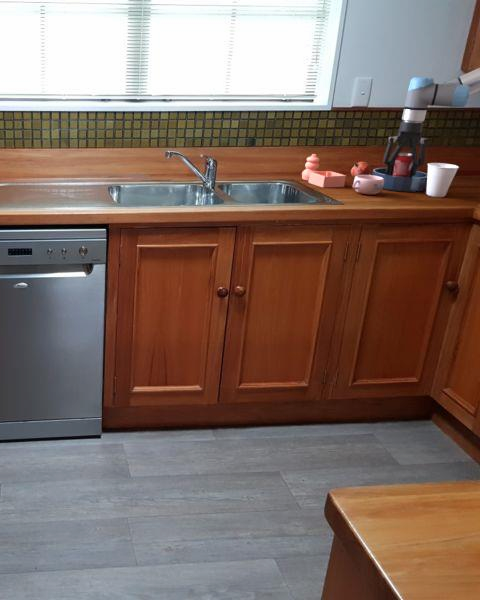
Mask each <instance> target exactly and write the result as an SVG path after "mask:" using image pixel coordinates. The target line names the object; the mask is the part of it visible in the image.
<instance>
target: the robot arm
mask: <svg viewBox="0 0 480 600" xmlns="http://www.w3.org/2000/svg"><path fill="white" fill-rule="evenodd" d="M479 91H480V67H478V68H476V69H474V70H471V71H469V72H467V73H465V74H463V75H460V76H458V77H456V78H454V79H452V80H450V81H445V82H443V83H435V79H434V77H425V76H414V77H412V78H411V79H410V83H409V85H408V89H407V93H406V98H405V103H404V107H403V112H402V116H401V120H402V121H401V122H400V124H399V129H398V133H397V135H396V136H388V138H387V145H386V149H385V152H384V156H383V158H382V163H383V164H385V165H386V167H385V168H386V174H388V175H391V176H392V172H393V168H394V166H392V164H393V162H394V161H395V159H396V158H397V156H398V154H399V153H401V151H402V150H403V149H404V148H409V150H410V154H412V155H413V156H412V157H413V159H414V160H413V165H412V169H411V173H410V177H411V178H412V176H413V175H414V176H415V174H416V171H418V168H419V167H422V166H424V164H425V159H426V149H427V145H428V143H429V141H430V140H429V138H425V137H422V133H423V132H422V131H423V127H424V121H425V119H426V115H427V111H428V107H429V106H431V107H432V106H435V107H448V108H449V107H450V108H464V107H466V105H467V103H468V101H469V98H470V95H471V94H474V93H476V92H479ZM396 141H397V142H398V143H397V145H396V147H395V149H394V151H393V152H392V150H393V147H394V144H395V143H396ZM418 143H420V145H419V154H418V152H417V144H418ZM391 153H392V154H391Z"/></svg>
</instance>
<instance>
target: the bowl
mask: <svg viewBox="0 0 480 600" xmlns="http://www.w3.org/2000/svg"><path fill="white" fill-rule="evenodd" d="M371 175H373V176H379V177H382V178H383V179H384V185H383V188H382V189H381V190H387V191H391V192H392V191H393V192H400V191H401V193H417V192H416V191H418V192H422V191H425V190H427V177H428V173H426V172H423V171H419V170H417V171H416V174H415V176H414V175H413V176H412V178H411V177H398V176H391V175H388V174H386V167H377V168H373V170H372V173H371ZM402 191H403V192H402Z"/></svg>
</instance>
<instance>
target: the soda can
mask: <svg viewBox="0 0 480 600" xmlns="http://www.w3.org/2000/svg"><path fill="white" fill-rule="evenodd" d="M412 156H413V155H412V154H411V153H408V152H400V153H399V154H398V156H397V158H396V159H395V161H394V162H393V164H392V166H394V168H393V172H392V176H398V177H410V173H411V169H412V166H413V160H414V159H413V157H412Z"/></svg>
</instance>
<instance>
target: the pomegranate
mask: <svg viewBox="0 0 480 600" xmlns="http://www.w3.org/2000/svg"><path fill="white" fill-rule="evenodd" d="M353 165H354V166H353V167H352V168H351V170H350V174H351V176H352V177H353V178H354V179H355V177H356V176H357V175H371V166H370V164H369V162H366V161H359V162H356V163H353Z"/></svg>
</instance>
